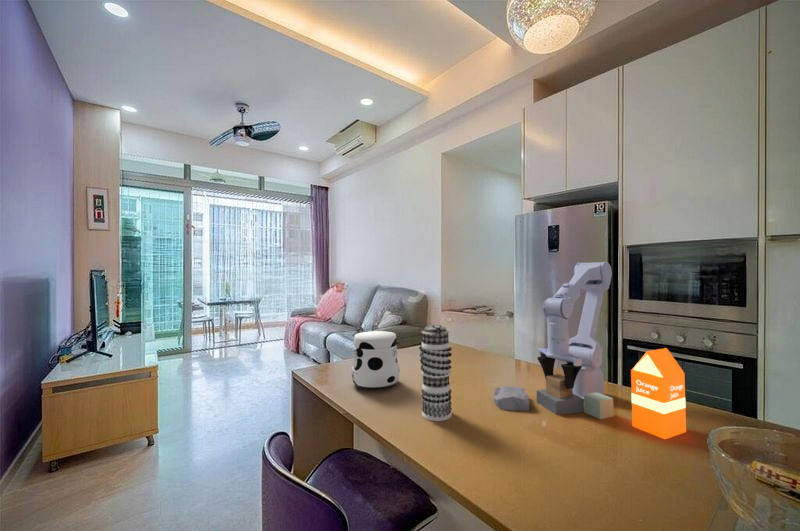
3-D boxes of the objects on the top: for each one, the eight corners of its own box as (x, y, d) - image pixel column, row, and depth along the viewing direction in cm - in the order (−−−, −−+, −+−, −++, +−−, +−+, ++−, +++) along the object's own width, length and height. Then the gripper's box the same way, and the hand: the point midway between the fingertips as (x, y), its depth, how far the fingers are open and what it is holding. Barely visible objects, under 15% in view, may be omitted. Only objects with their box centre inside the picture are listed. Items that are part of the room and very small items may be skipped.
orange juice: (631, 426, 87) (629, 348, 87) (652, 419, 90) (650, 344, 91) (665, 439, 80) (663, 355, 80) (687, 432, 83) (685, 351, 83)
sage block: (597, 409, 97) (596, 392, 97) (613, 416, 93) (613, 398, 93) (584, 412, 96) (584, 394, 96) (600, 419, 91) (599, 401, 91)
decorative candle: (440, 425, 89) (438, 330, 89) (413, 415, 95) (412, 326, 96) (459, 413, 96) (457, 325, 96) (433, 405, 102) (431, 322, 102)
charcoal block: (562, 400, 105) (562, 388, 105) (584, 412, 96) (583, 398, 96) (536, 403, 103) (536, 390, 103) (555, 415, 94) (555, 401, 94)
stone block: (498, 416, 98) (533, 411, 97) (494, 399, 99) (529, 394, 97) (494, 402, 110) (525, 397, 108) (490, 387, 110) (522, 382, 109)
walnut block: (558, 390, 103) (558, 373, 103) (572, 395, 98) (572, 378, 98) (546, 392, 101) (546, 376, 101) (559, 398, 96) (559, 381, 96)
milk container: (408, 381, 124) (407, 332, 124) (381, 397, 110) (380, 341, 110) (371, 374, 133) (370, 329, 134) (341, 387, 119) (340, 336, 119)
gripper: (529, 335, 105) (530, 378, 105) (567, 344, 92) (568, 394, 91) (547, 333, 108) (548, 375, 108) (586, 342, 94) (588, 390, 94)
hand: (559, 384), depth 100 cm, fingers open, 7 cm apart
